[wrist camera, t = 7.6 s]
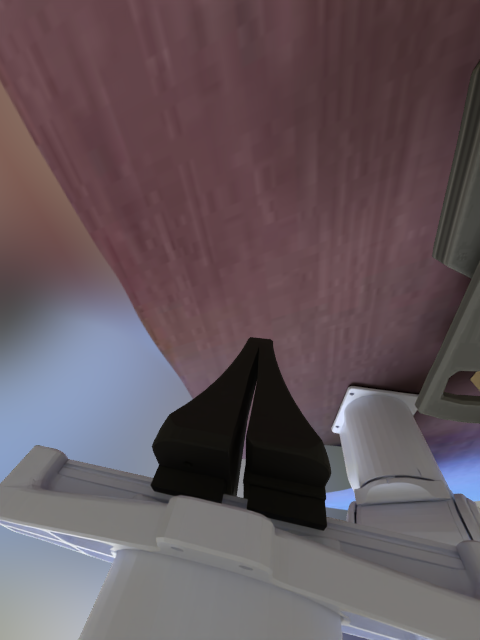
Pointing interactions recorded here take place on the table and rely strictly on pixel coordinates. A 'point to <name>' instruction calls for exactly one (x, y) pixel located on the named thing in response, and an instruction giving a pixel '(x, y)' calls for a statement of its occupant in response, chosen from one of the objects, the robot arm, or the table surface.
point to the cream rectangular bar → (476, 379)
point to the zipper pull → (460, 270)
